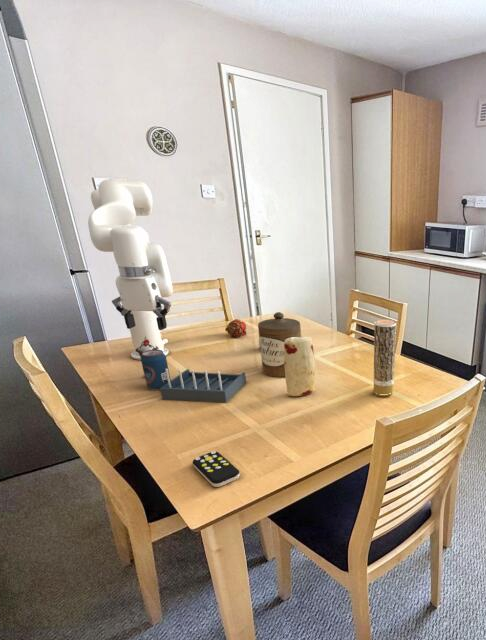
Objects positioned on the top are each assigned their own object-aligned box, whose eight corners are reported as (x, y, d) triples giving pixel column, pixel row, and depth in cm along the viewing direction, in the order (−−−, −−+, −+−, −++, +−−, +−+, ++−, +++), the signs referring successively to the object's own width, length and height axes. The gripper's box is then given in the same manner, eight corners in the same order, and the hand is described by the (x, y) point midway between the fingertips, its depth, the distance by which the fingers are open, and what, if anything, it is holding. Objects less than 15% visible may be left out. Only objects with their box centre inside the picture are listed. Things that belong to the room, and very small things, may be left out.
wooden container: (254, 372, 150) (247, 314, 141) (279, 360, 163) (275, 305, 154) (288, 380, 145) (283, 320, 136) (311, 366, 158) (308, 311, 149)
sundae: (154, 380, 139) (144, 338, 133) (137, 378, 140) (127, 336, 134) (168, 373, 145) (160, 333, 139) (152, 371, 146) (143, 331, 140)
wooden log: (396, 391, 142) (398, 321, 132) (388, 399, 136) (390, 326, 126) (378, 387, 144) (379, 318, 134) (370, 395, 138) (370, 323, 128)
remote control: (215, 490, 90) (214, 482, 89) (191, 465, 97) (190, 458, 96) (242, 477, 94) (241, 470, 93) (217, 455, 101) (216, 448, 101)
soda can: (142, 388, 133) (134, 353, 129) (161, 380, 139) (154, 347, 134) (157, 392, 131) (149, 357, 126) (176, 384, 137) (169, 351, 132)
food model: (290, 401, 131) (285, 341, 123) (283, 393, 136) (278, 335, 128) (319, 394, 136) (316, 337, 128) (311, 387, 141) (308, 331, 133)
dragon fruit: (239, 343, 183) (234, 340, 192) (253, 331, 185) (248, 327, 194) (224, 329, 178) (220, 326, 188) (239, 316, 180) (235, 314, 190)
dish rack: (188, 379, 142) (184, 353, 138) (246, 382, 142) (243, 356, 138) (162, 399, 127) (156, 370, 123) (226, 402, 127) (222, 374, 123)
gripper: (171, 271, 124) (181, 326, 130) (114, 269, 123) (127, 323, 130) (156, 275, 117) (168, 333, 123) (96, 272, 117) (111, 330, 123)
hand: (147, 328), depth 127 cm, fingers open, 9 cm apart
